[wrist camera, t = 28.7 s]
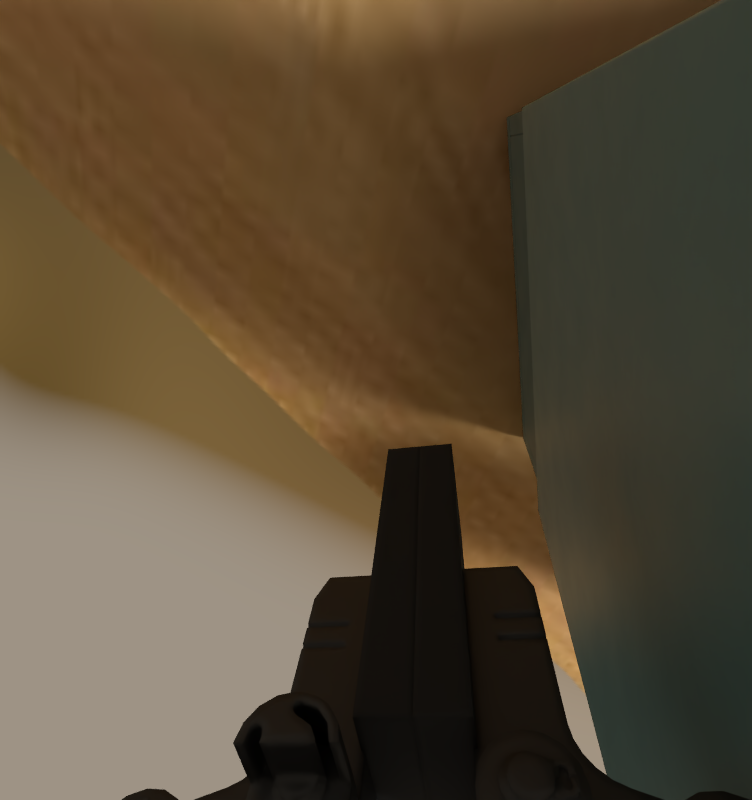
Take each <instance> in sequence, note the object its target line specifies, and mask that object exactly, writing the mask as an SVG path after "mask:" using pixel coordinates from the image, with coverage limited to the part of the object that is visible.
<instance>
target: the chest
mask: <svg viewBox="0 0 752 800" xmlns="http://www.w3.org/2000/svg"><path fill="white" fill-rule="evenodd" d="M507 132H508V152H509V171H510V190H511V209H512V229H513V248H514V267H515V287H516V306H517V325H518V345H519V364H520V383H521V403H522V422H523V439H524V442H525V444H526V447H527V450H528V453H529V456H530V459H531V462H532V465H533V468H534V471H535V474H536V477H537V467H536V442H535V418H534V394H533V369H532V345H531V320H530V296H529V272H528V247H527V223H526V198H525V174H524V150H523V125H522V111H521V112H518V113H516V114H514V115H511V116H509V117H507Z"/></svg>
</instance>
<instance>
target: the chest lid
mask: <svg viewBox="0 0 752 800" xmlns="http://www.w3.org/2000/svg"><path fill="white" fill-rule="evenodd" d="M522 125H523V150H524V174H525V198H526V223H527V247H528V272H529V296H530V320H531V345H532V369H533V394H534V418H535V442H536V467H537V491H538V511H539V515H540V519H541V523H542V527H543V531H544V534H545V538H546V542H547V546H548V550H549V554H550V558H551V561H552V565H553V569H554V573H555V577H556V581H557V585H558V588H559V592H560V596H561V600H562V604H563V608H564V612H565V615H566V619H567V623H568V627H569V631H570V635H571V639H572V642H573V646H574V650H575V654H576V658H577V662H578V666H579V669H580V673H581V677H582V681H583V685H584V689H585V693H586V696H587V700H588V704H589V708H590V712H591V716H592V719H593V723H594V727H595V731H596V735H597V739H598V743H599V746H600V750H601V754H602V757H603V762H604V766H605V769H606V773H607V776H608V777H610V778H611V779H613V780H614V781H617V782H619V783H621V784H623V785H625V786H627V787H630V788H632V789H635V790H638V791H640V792H643V793H646V794H649V795H652V796H655V797H658V798H661V799H664V800H686V799H688V798H689V797H691V796H693V795H694V794H696V793H698V792H706V791H725V792H728V793H731V794H734V795H738V796H741V797H744V798H747V799H750V800H752V0H721V1H719V2H717V3H715V4H713V5H711V6H709V7H708V8H706V9H704V10H702V11H700V12H698V13H696V14H695V15H693V16H691V17H689V18H687V19H685V20H683V21H682V22H680V23H678V24H676V25H674V26H672V27H671V28H669V29H667V30H665V31H663V32H661V33H659V34H658V35H656V36H654V37H652V38H650V39H648V40H646V41H645V42H643V43H641V44H639V45H637V46H635V47H633V48H632V49H630V50H628V51H626V52H624V53H622V54H620V55H619V56H617V57H615V58H613V59H611V60H609V61H608V62H606V63H604V64H602V65H600V66H598V67H596V68H595V69H593V70H591V71H589V72H587V73H585V74H583V75H582V76H580V77H578V78H576V79H574V80H572V81H570V82H569V83H567V84H565V85H563V86H561V87H559V88H558V89H556V90H554V91H552V92H550V93H548V94H546V95H545V96H543V97H541V98H539V99H537V100H535V101H533V102H532V103H530V104H528V105H526V106H524V107H523V108H522Z"/></svg>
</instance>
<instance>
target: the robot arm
mask: <svg viewBox="0 0 752 800" xmlns="http://www.w3.org/2000/svg"><path fill="white" fill-rule="evenodd" d="M308 624H309V627H308V628H307V631H306V634H305V638H304V642H303V649H302V650H301V654H300V658H299V662H298V666H297V670H296V674H295V677H294V681H293V685H292V689H291V693H287V694H282V695H278V696H276V697H274V698H273V699H271V700H269V701H267V702H266V703H264V704H262V705H260V706H259V707H258V708H257V709H256V710H255V711H254V712H253V713H252V714H251V715H250V716H249V717H248V718H247V719H246V721H245V722H244V723H243V725H242V727H241V729H240V731H239V732H238V734H237V736H236V738H235V740H234V743H233V744H234V746H235V748H236V751H237V753H238V755H239V758H240V759H241V763H242V765H243V767H244V770H245V772H246V774H247V777H245V778H244V779H243V780H241V781H239V782H238V783H235V784H233V785H231V786H229V787H227V788H225V789H222V790H219V791H216V792H214V793H211V794H208V795H206V796H203V797H200V798H198V799H195V800H664V799H661V798H658V797H655V796H652V795H649V794H646V793H643V792H640V791H638V790H635V789H632V788H630V787H627V786H625V785H623V784H621V783H619V782H617V781H614V780H613V779H611V778H610V777H608V776H607V775H606V774H604V773H603V772H601V771H600V770H599V769H597V768H596V767H595V766H594V765H593V764H592V763H591V762H590V761H589V760H588V759H587V758H586V757H585V756H584V754H583V753H582V752H581V750H580V749H579V747H578V745H577V744H576V742H575V741H574V739H573V737H572V734H571V731H570V729H569V726H568V723H567V719H566V715H565V711H564V707H563V703H562V699H561V695H560V691H559V686H558V683H557V678H556V674H555V670H554V666H553V662H552V658H551V654H550V650H549V646H548V641H547V639H546V633H545V629H544V625H543V621H542V617H541V614H540V609H539V605H538V601H537V596H536V592H535V588H534V586H533V585H532V584H531V582H530V581H529V580H528V579H527V577H526V576H525V575H524V574H523V572H522V571H521V570H520V569H519V568H518V566H509V567H490V568H472V569H464V559H463V548H462V536H461V527H460V518H459V509H458V499H457V490H456V481H455V472H454V463H453V454H452V444H444V445H433V446H421V447H410V448H399V449H388V456H387V463H386V471H385V478H384V486H383V493H382V501H381V509H380V516H379V524H378V531H377V538H376V546H375V553H374V560H373V568H372V575H371V576H355V577H337V578H336V577H335V578H330V579H329V580H328V581H327V583H326V584H325V586H324V587H323V588H322V590H321V591H320V592H319V594H318V595H317V596H316V598H315V599H314V603H313V607H312V611H311V615H310V619H309V623H308ZM122 800H178V799H177V798H176V797H174V796H173V795H171V794H170V793H169V792H167V791H166V790H159V789H145V790H142V791H139V792H137V793H134V794H131V795H128V796H126V797H125V798H123V799H122ZM686 800H750V799H747V798H744V797H741V796H738V795H734V794H731V793H728V792H725V791H706V792H698V793H696V794H694V795H693V796H691V797H689V798H688V799H686Z"/></svg>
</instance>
